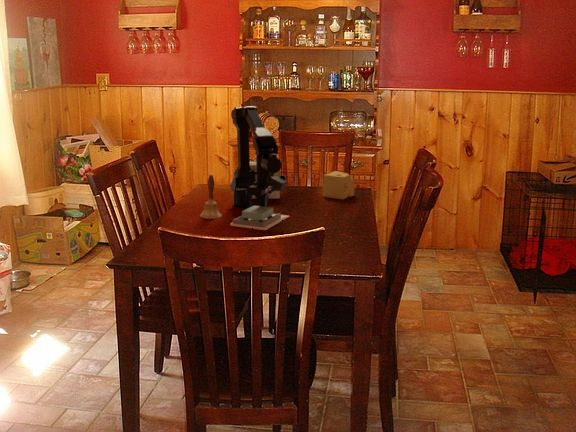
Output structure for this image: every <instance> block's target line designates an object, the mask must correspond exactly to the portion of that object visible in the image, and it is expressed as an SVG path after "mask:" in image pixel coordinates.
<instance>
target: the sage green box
mask: <svg viewBox="0 0 576 432" xmlns="http://www.w3.org/2000/svg"><path fill="white" fill-rule="evenodd" d="M273 214H274V207H271V206H270V207H268V206H266V207H262V206H260V205H251V206H249V207H247V208H246V209H244V210H242V211H241V215H242V218H244V219H243V220H246V221H249V219H257V220H259V221H258V222H263V219H265V218H267V219H269V218H271V217H272V215H273ZM248 218H249V219H248Z"/></svg>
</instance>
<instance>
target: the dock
mask: <svg viewBox="0 0 576 432" xmlns="http://www.w3.org/2000/svg"><path fill="white" fill-rule="evenodd" d="M289 217H290V215H285V214H282V213H278V212H277V213H273V215H272V217H271V218H269V219H267V218H265V219H263V222H258V221H259V220H257V219H249V218H248V219H249V221H246V220H243V219H244V218H242V214H241V215H240V216H237V217H236V218H233V219H232V222H230V223H229V224H230V226H231V227H237V228H246V229H252V228H253V230H262V231H266V230H267V231H268V230H269V229H270V228H272V227H274V226H275V225H278V224H279V223H281V222H283V221H285V220H286V219H287V218H289ZM282 220H283V221H282Z"/></svg>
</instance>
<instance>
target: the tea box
mask: <svg viewBox="0 0 576 432" xmlns="http://www.w3.org/2000/svg"><path fill="white" fill-rule="evenodd" d="M250 168H251V169H252V171H256V161H250ZM280 172H281V170H280V171H278V172H277V173H274V175H275V176H279V177H280V176H281V174H280ZM254 177H255V180H256V174H254ZM255 186H257V185H255ZM270 188H271V190H274V192H273V193H272V194H270V196H269V199H268V200H272V199H274V200H275V199H277V200H280V198H281V191H279V190H277V189H276V188H274V187H272V186H271V187H270ZM253 199H254V200H255V199H256V200H257V198H256V197H255V195H252V200H253Z"/></svg>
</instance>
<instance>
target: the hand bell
mask: <svg viewBox="0 0 576 432" xmlns="http://www.w3.org/2000/svg"><path fill="white" fill-rule="evenodd" d="M207 189H208V200H207V201H206V202H205V203H204V207H203V211H202V212H201V214H200V215H199V218H202V219H206V220H215V219H216V220H217V219H221V218H222V216H223V215H222V213H220V211H219V208H218V203H217V201H215V200H214V190H215V178H214V175H213V174H210V175H209V176H208V179H207Z"/></svg>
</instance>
